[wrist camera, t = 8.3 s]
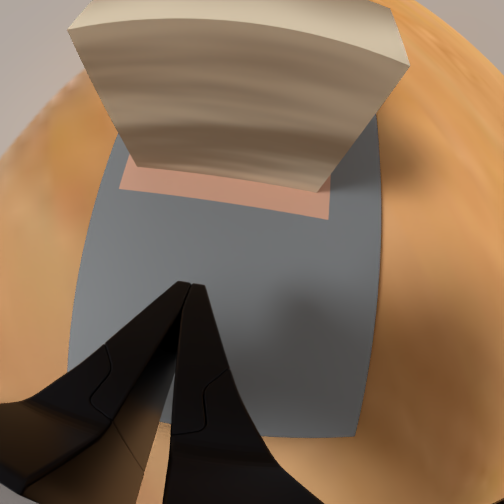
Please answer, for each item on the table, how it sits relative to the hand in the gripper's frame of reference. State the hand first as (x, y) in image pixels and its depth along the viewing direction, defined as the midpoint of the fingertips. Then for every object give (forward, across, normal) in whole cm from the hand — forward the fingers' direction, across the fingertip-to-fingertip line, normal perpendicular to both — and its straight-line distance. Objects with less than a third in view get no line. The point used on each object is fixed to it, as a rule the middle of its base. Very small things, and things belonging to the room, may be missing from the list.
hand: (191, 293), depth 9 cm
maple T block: (+12, 0, -4) cm, 12 cm away
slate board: (+8, -1, 0) cm, 8 cm away
